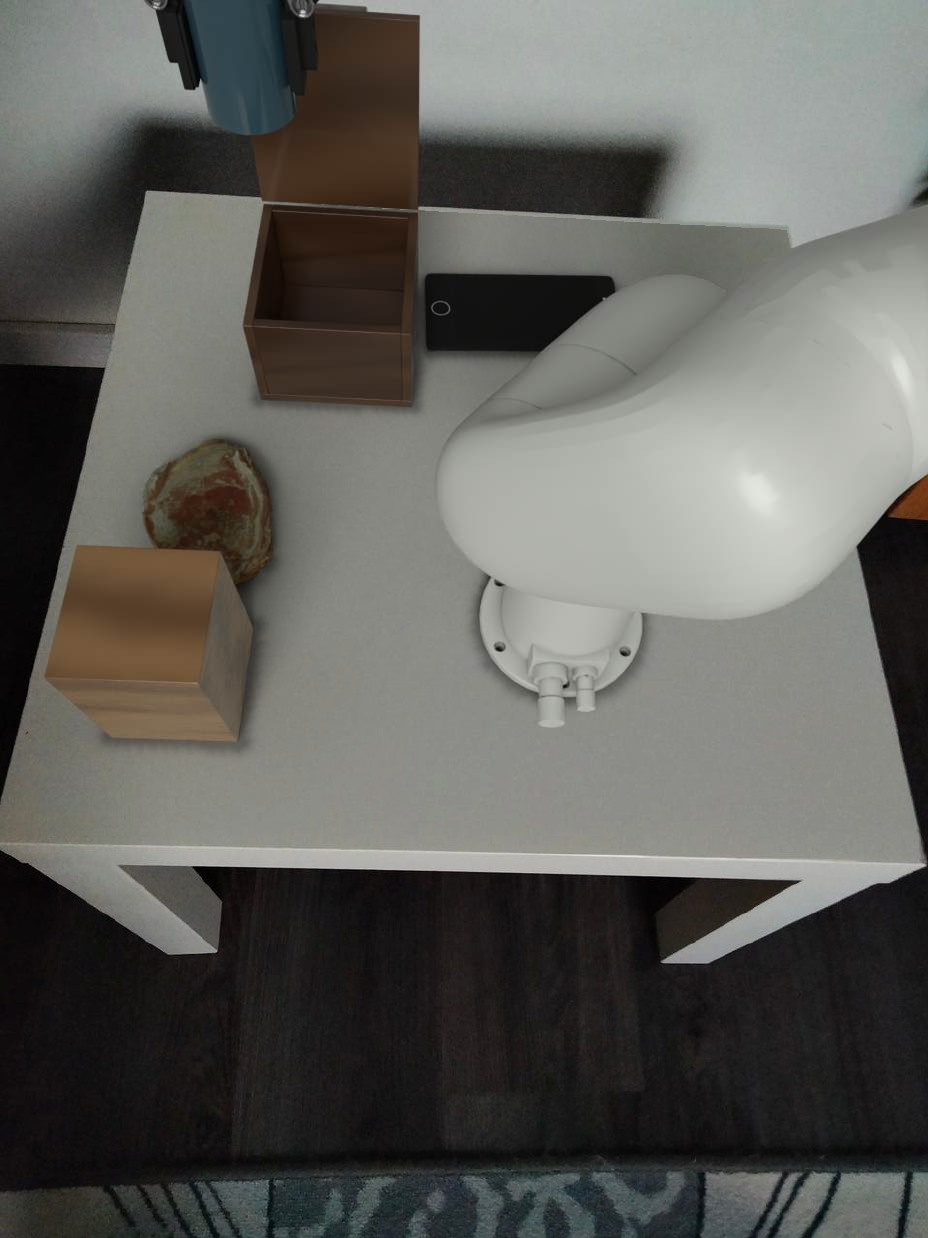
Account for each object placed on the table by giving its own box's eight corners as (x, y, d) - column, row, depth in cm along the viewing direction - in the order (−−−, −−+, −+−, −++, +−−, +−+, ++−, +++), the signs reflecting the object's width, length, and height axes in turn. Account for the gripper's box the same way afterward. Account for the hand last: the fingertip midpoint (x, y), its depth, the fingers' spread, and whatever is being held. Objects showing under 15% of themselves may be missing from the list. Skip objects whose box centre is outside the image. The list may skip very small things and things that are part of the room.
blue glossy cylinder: (293, 137, 47) (275, 0, 40) (202, 133, 46) (168, -6, 40) (300, 79, 49) (284, -59, 42) (213, 75, 48) (183, -65, 42)
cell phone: (424, 280, 80) (424, 272, 79) (611, 282, 81) (613, 274, 80) (426, 352, 76) (426, 344, 75) (621, 353, 77) (624, 346, 76)
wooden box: (411, 407, 74) (411, 334, 66) (261, 399, 73) (242, 325, 65) (418, 291, 79) (418, 212, 71) (278, 284, 79) (263, 203, 71)
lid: (419, 20, 58) (422, -17, 61) (229, 7, 58) (240, -30, 60) (418, 210, 71) (420, 173, 73) (261, 201, 70) (269, 164, 73)
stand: (238, 742, 60) (198, 683, 49) (110, 737, 60) (43, 678, 49) (253, 628, 64) (220, 550, 53) (134, 623, 64) (76, 544, 53)
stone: (125, 488, 69) (112, 466, 66) (237, 438, 71) (229, 415, 68) (191, 616, 64) (179, 598, 61) (308, 559, 67) (303, 539, 64)
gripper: (-127, -421, 27) (76, 114, 44) (395, -378, 28) (401, 130, 45) (-67, -502, 31) (101, 26, 47) (401, -461, 31) (405, 43, 48)
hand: (247, 73), depth 46 cm, fingers closed on blue glossy cylinder, 5 cm apart
